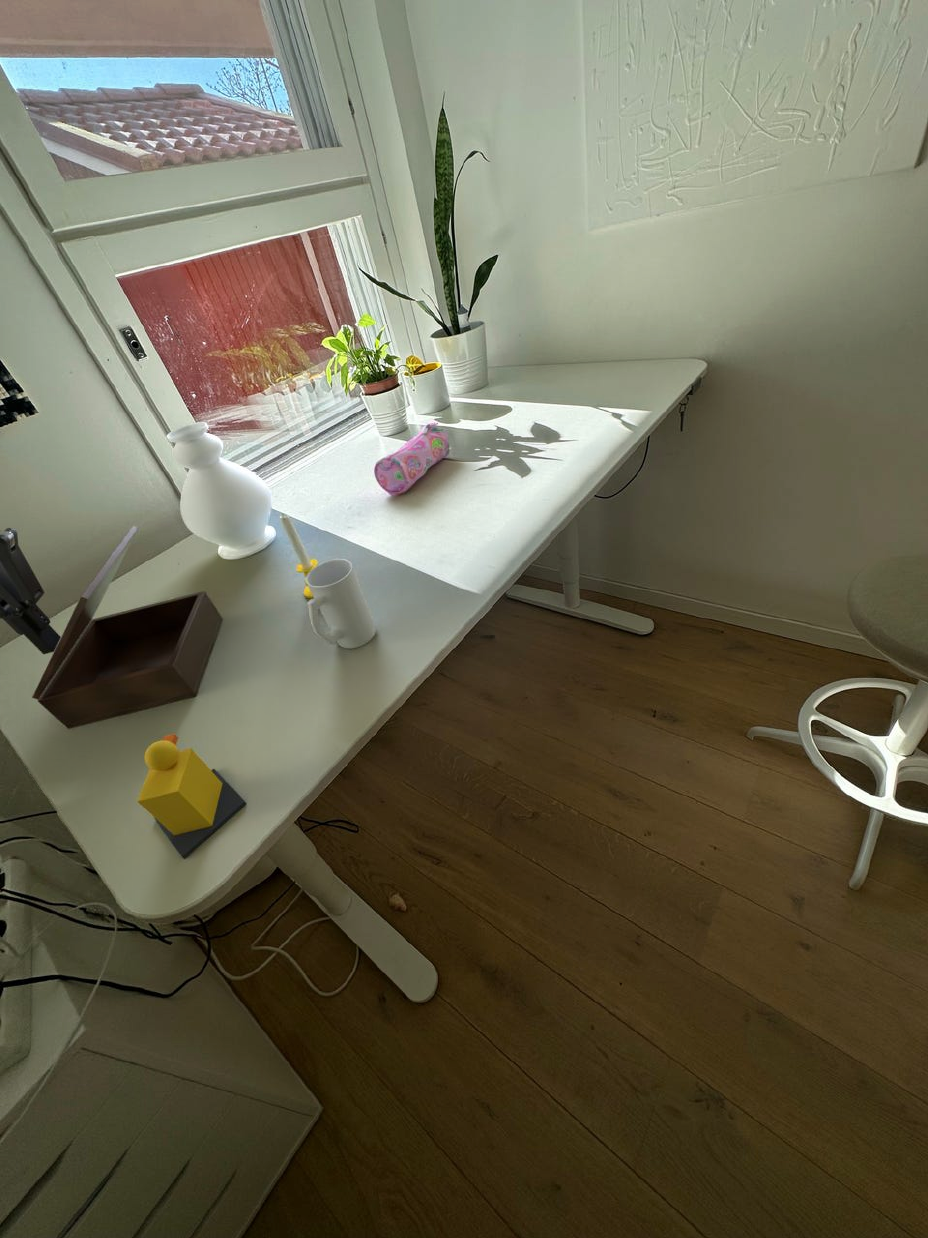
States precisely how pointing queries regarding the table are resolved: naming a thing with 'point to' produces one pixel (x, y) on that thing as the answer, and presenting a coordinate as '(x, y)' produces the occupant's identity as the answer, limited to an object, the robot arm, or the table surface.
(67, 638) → the lid
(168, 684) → the chest
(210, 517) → the decorative vase
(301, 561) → the candle
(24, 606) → the robot arm
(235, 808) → the coaster
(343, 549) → the table surface
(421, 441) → the pencil case
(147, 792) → the duck
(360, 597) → the mug
